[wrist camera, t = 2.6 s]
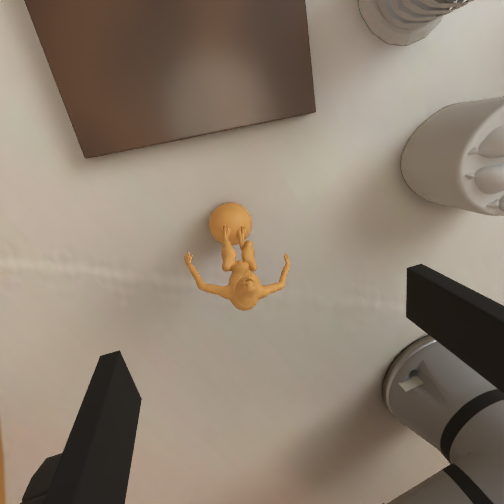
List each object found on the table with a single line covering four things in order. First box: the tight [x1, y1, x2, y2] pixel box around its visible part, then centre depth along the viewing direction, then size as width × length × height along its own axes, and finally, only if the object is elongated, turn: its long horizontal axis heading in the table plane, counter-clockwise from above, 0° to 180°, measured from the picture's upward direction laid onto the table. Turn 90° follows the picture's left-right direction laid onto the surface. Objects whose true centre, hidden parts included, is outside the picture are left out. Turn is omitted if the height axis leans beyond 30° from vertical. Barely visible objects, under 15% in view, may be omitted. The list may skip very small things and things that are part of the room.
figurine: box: [185, 203, 290, 311], centre depth 24 cm, size 8×6×12 cm
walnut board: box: [24, 0, 316, 158], centre depth 23 cm, size 20×18×2 cm
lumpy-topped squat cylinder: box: [401, 97, 504, 216], centre depth 28 cm, size 10×13×9 cm
